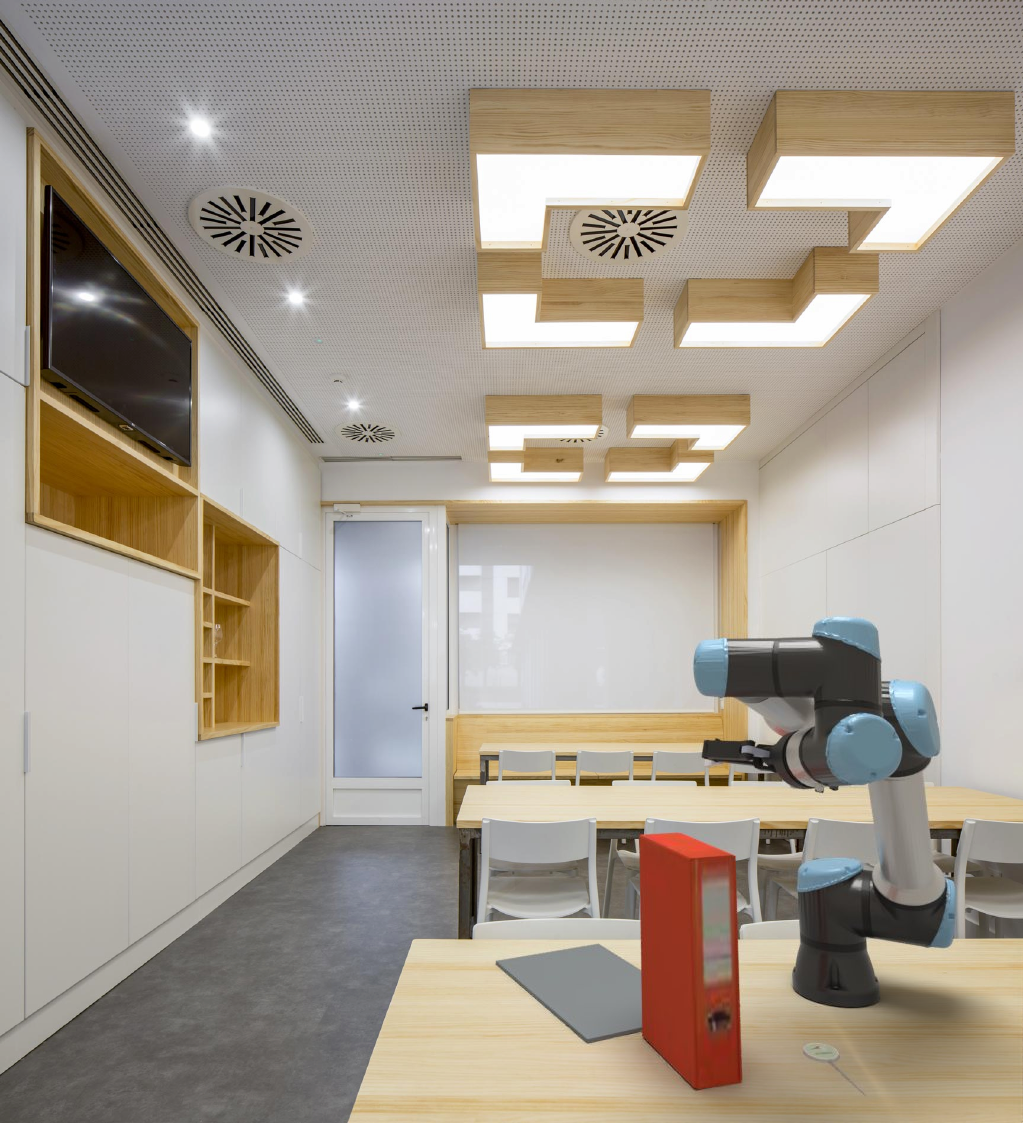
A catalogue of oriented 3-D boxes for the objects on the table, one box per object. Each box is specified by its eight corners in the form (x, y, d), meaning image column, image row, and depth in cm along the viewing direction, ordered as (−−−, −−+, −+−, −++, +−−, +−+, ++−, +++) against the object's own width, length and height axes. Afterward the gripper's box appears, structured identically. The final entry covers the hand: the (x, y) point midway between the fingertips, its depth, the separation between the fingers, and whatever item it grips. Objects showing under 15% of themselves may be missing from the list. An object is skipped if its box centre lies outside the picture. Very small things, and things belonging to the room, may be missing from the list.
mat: (598, 946, 175) (598, 943, 175) (709, 1016, 140) (708, 1012, 140) (495, 963, 165) (495, 960, 165) (587, 1043, 131) (587, 1039, 131)
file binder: (686, 1031, 135) (680, 831, 139) (744, 1082, 118) (735, 854, 122) (642, 1037, 132) (637, 834, 136) (694, 1090, 116) (687, 858, 120)
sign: (848, 1095, 114) (797, 1043, 129) (848, 1101, 114) (797, 1049, 129) (882, 1092, 115) (828, 1041, 130) (883, 1099, 115) (828, 1047, 129)
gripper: (714, 763, 103) (667, 773, 123) (903, 811, 103) (826, 813, 123) (722, 705, 105) (675, 725, 125) (907, 752, 105) (831, 763, 126)
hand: (750, 768), depth 124 cm, fingers open, 13 cm apart
